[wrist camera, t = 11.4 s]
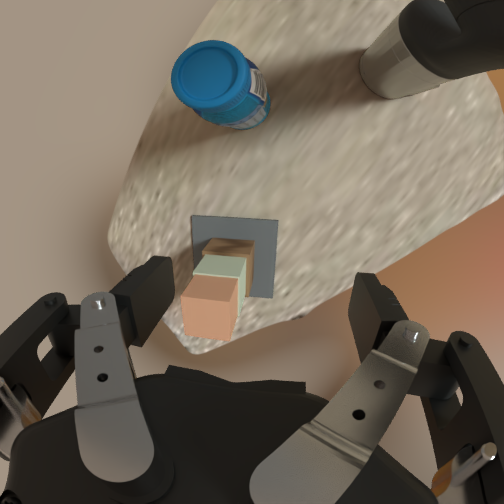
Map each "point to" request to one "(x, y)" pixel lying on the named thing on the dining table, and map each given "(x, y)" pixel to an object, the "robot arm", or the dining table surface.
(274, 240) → the slate mat
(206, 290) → the terracotta cube
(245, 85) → the beverage bottle
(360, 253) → the dining table surface
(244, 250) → the walnut block
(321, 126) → the dining table surface
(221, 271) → the sage block
